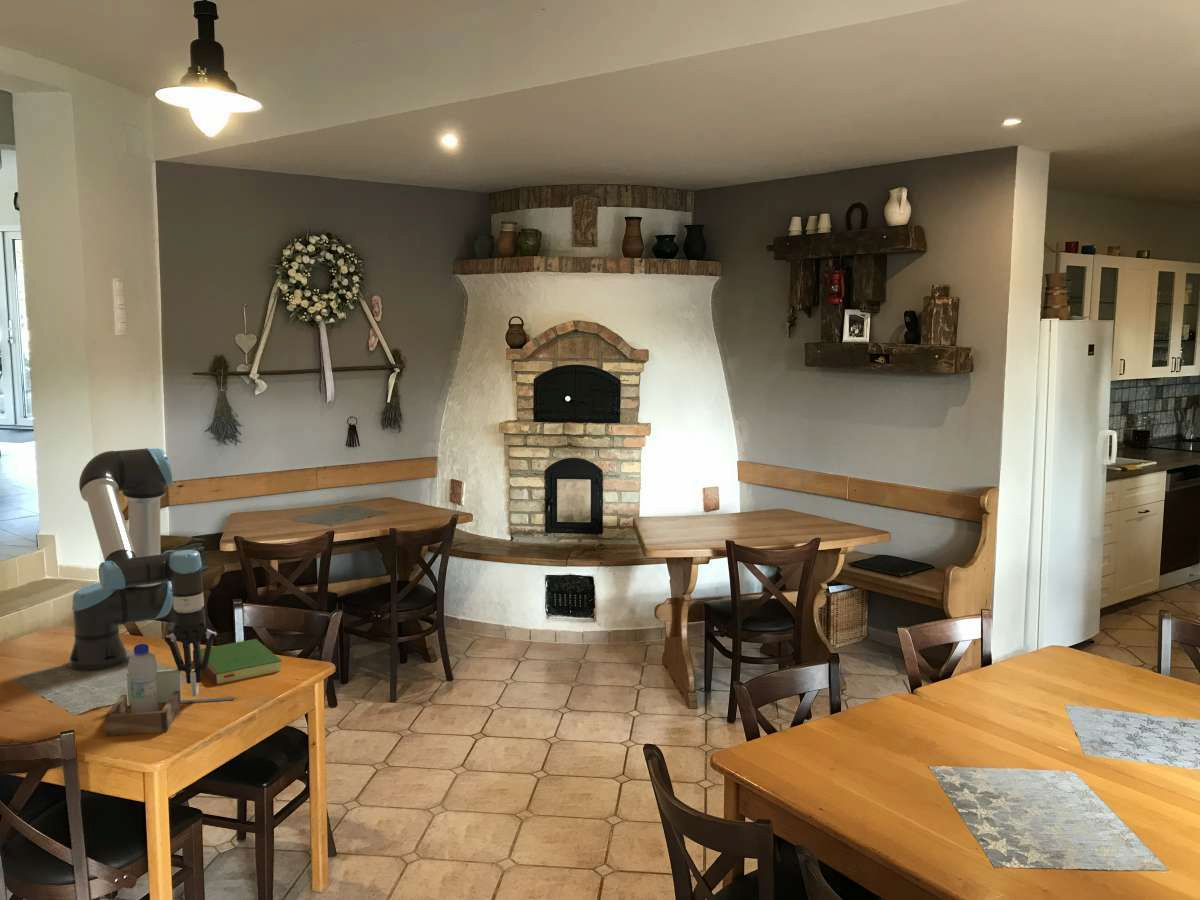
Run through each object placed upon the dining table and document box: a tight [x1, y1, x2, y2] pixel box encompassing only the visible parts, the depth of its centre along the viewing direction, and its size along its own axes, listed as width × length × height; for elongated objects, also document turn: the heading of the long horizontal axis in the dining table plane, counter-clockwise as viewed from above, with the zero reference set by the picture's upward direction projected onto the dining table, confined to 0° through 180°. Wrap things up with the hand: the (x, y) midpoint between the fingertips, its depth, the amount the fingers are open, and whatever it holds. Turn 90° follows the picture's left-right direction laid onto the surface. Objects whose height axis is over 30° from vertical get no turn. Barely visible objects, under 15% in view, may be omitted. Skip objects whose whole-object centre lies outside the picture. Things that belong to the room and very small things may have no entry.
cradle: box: [103, 691, 236, 737], centre depth 242 cm, size 20×27×5 cm
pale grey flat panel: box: [126, 668, 183, 706], centre depth 249 cm, size 1×13×9 cm, turn 102°
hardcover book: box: [192, 638, 282, 686], centre depth 279 cm, size 25×19×4 cm
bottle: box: [127, 643, 160, 713], centre depth 238 cm, size 7×7×20 cm
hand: (195, 694), depth 252 cm, fingers closed
